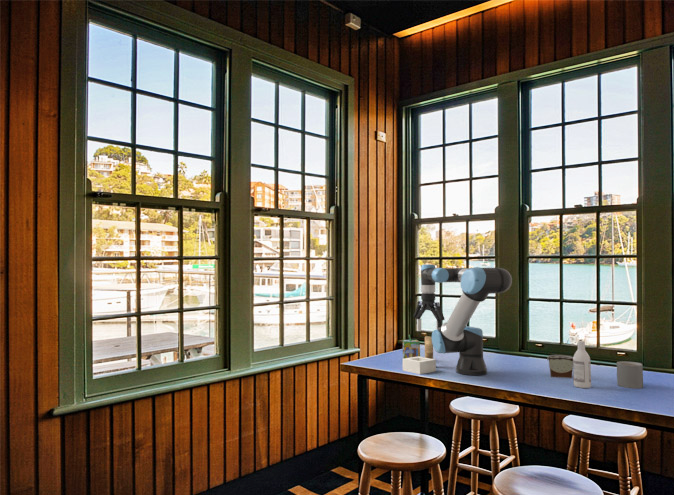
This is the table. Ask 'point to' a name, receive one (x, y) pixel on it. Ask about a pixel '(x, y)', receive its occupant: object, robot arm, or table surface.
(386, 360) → the table surface
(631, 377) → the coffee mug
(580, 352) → the bath foam
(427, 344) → the oak peg
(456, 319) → the robot arm
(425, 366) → the socket block
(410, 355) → the juice carton
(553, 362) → the food container
